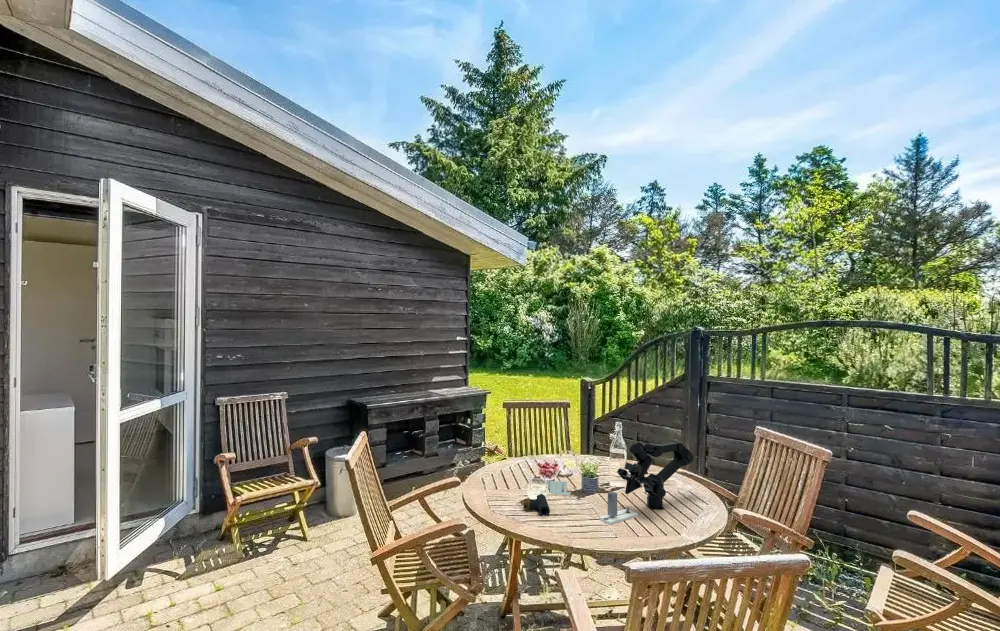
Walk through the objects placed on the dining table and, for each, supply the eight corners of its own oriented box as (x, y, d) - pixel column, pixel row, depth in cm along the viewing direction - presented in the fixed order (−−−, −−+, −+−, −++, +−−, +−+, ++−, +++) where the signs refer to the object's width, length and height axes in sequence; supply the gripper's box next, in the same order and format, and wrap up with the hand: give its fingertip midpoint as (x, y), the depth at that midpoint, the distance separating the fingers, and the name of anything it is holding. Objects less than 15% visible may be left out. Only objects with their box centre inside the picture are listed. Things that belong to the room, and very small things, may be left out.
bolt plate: (626, 511, 231) (626, 503, 231) (638, 516, 225) (638, 508, 226) (598, 519, 222) (598, 511, 222) (609, 524, 216) (609, 517, 216)
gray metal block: (612, 514, 224) (612, 491, 224) (617, 516, 221) (617, 493, 221) (607, 516, 222) (607, 492, 222) (612, 518, 219) (612, 494, 220)
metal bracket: (542, 476, 265) (570, 478, 263) (542, 485, 266) (570, 487, 264) (541, 492, 251) (570, 494, 249) (541, 502, 253) (570, 504, 251)
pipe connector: (525, 505, 225) (522, 493, 240) (525, 516, 225) (522, 504, 240) (550, 505, 226) (546, 493, 241) (549, 516, 226) (545, 504, 240)
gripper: (619, 451, 237) (602, 477, 231) (649, 461, 221) (632, 489, 215) (630, 465, 241) (614, 491, 235) (661, 475, 226) (645, 503, 220)
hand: (626, 493), depth 226 cm, fingers closed
